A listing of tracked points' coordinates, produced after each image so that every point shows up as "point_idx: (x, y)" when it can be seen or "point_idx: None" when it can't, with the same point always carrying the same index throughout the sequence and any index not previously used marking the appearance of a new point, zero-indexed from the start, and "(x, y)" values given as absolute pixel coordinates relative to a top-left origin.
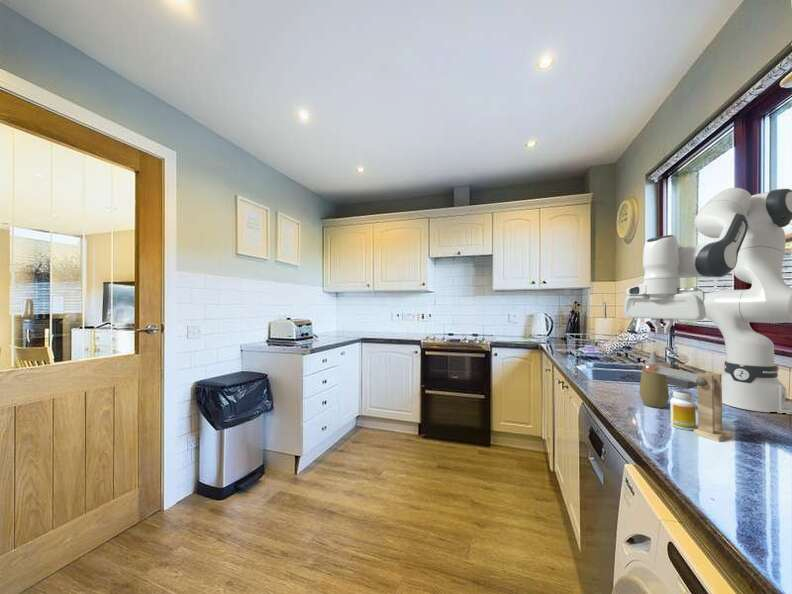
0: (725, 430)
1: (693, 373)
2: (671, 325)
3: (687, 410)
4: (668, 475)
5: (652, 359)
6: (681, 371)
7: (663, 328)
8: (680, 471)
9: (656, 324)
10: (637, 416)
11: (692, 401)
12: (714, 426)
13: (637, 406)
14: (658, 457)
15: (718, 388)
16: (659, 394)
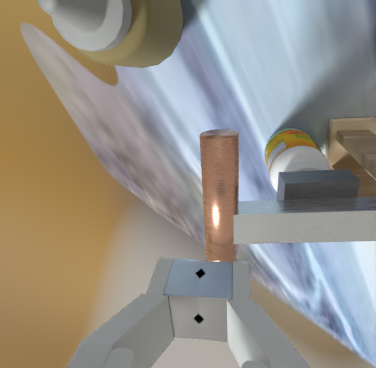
0: (373, 121)
1: (361, 210)
2: (280, 337)
3: None
4: (357, 352)
5: (82, 26)
6: (322, 224)
7: (226, 341)
8: (363, 334)
9: (144, 357)
10: (197, 169)
11: (325, 169)
12: (367, 173)
13: (140, 84)
14: (327, 318)
15: None
16: (171, 48)
